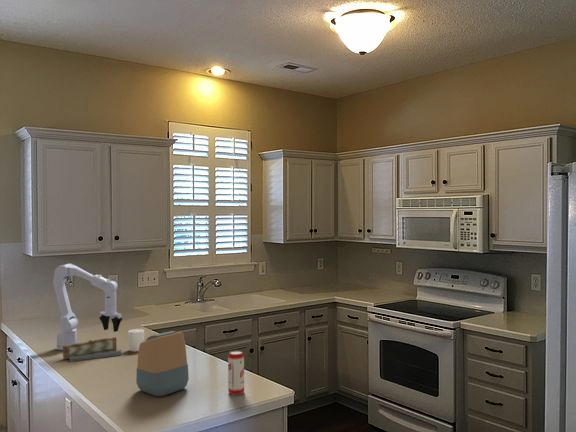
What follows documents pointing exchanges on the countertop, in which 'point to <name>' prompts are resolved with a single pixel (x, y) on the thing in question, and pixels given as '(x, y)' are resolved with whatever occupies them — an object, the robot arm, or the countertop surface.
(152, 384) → the two-tone smart speaker
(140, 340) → the white cup
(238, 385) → the beer can
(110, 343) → the picture frame
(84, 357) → the slanted bar
